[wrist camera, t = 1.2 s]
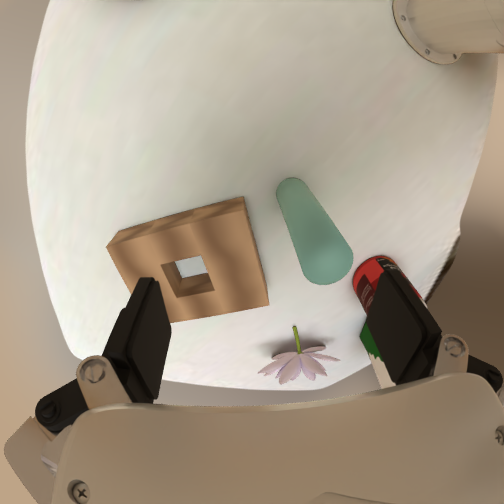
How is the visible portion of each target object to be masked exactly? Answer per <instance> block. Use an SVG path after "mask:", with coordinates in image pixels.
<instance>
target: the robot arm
mask: <svg viewBox="0 0 504 504" xmlns="http://www.w3.org/2000/svg"><path fill="white" fill-rule="evenodd" d="M393 11H394V16H395V20H396V22H397V25H398V27H399V29H400V31H401V33H402V34H403V36H404V37H405V39H406V40H407V42H408V43H409V44H410V45H411V46H412V47H413V48H414V50H415V51H417V52H418V53H419V54H420V55H421V56H423V57H424V58H426V59H427V60H429V61H431V62H434V63H437V64H452V63H454V62H456V61H457V60H458V59H460V57H461V55H462V53H504V0H394V3H393ZM366 323H367V326H368V329H369V331H370V333H371V335H372V337H373V339H374V342H375V344H376V346H377V348H378V351H379V353H380V355H381V357H382V360H383V362H384V364H385V367H386V369H387V372H388V374H389V376H390V379H391V381H392V382H393V383H395V384H396V386H393V387H388V388H384V389H380V390H375V391H371V392H366V393H361V394H355V395H350V396H344V397H338V398H332V399H325V400H318V401H309V402H300V403H291V404H280V405H279V404H278V405H263V406H234V407H233V406H232V407H216V406H213V407H212V406H182V405H165V404H153V400H154V399H157V398H158V395H159V389H160V384H161V379H162V375H163V370H164V365H165V360H166V356H167V351H168V347H169V342H170V338H171V325H170V322H169V318H168V314H167V311H166V307H165V303H164V299H163V296H162V292H161V288H160V284H159V281H155V279H154V278H153V277H140V278H139V280H138V282H137V284H136V286H135V288H134V290H133V293H132V295H131V297H130V299H129V301H128V303H127V306H126V308H123V309H122V310H121V312H120V314H119V316H118V318H117V321H116V323H115V325H114V327H113V330H112V332H111V334H110V337H109V339H108V342H107V344H106V346H105V349H104V351H103V354H102V356H99V355H96V356H90V357H87V358H86V359H84V360H83V361H82V362H81V363H80V364H79V366H78V368H77V371H76V376H77V378H76V379H75V380H73V381H71V382H69V383H68V384H66V385H64V386H62V387H61V388H59V389H57V390H55V391H54V392H52V393H50V394H48V395H46V396H44V397H43V398H42V399H40V401H39V402H38V403H37V406H36V409H35V415H36V416H35V417H34V418H32V417H31V416H30V417H29V418H28V419H27V420H26V422H25V423H24V424H23V425H22V426H21V427H20V428H19V429H18V430H17V431H16V432H15V433H14V434H13V435H12V436H11V437H10V438H9V439H8V440H7V442H6V444H5V447H4V454H5V457H6V459H7V460H8V462H9V464H10V465H11V467H12V469H13V470H14V471H15V473H16V474H17V476H18V477H19V479H20V480H21V481H22V483H23V485H24V486H25V487H26V488H27V490H28V491H29V492H30V494H31V495H32V496H33V498H34V499H35V500H36V502H37V503H38V504H504V384H503V378H502V375H501V373H500V371H499V370H498V369H497V368H496V367H494V366H492V365H490V364H488V363H486V362H483V361H481V360H479V359H477V358H475V357H472V356H470V355H468V353H469V351H468V346H467V344H466V343H465V341H464V340H463V339H461V338H460V337H458V336H457V335H453V334H447V335H445V336H444V337H442V336H441V332H442V331H441V329H440V327H439V326H438V324H437V323H436V321H435V320H434V318H433V317H432V315H431V314H430V312H429V311H428V309H427V308H426V307H425V305H424V304H423V302H422V301H421V299H420V298H419V297H418V295H417V294H416V292H415V291H414V290H413V288H412V287H411V286H410V284H409V283H408V282H407V280H406V279H405V278H404V276H403V275H402V274H401V272H400V271H399V270H398V269H385V270H384V271H383V273H381V274H380V277H379V280H378V284H377V287H376V290H375V294H374V297H373V300H372V303H371V306H370V309H369V312H368V315H367V319H366Z"/></svg>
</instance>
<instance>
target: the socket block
mask: <svg viewBox="0 0 504 504" xmlns="http://www.w3.org/2000/svg"><path fill="white" fill-rule="evenodd" d="M106 248H107V250H108V252H109V254H110V256H111V258H112V260H113V262H114V264H115V266H116V268H117V269H118V271H119V273H120V275H121V277H122V279H123V280H124V282H125V284H126V286H127V288H128V289H129V291H130V293H131V295H132V293H133V290H134V288H135V286H136V284H137V282H138V280H139V278H140V277H153V278H154V279H155V281H159V284H160V288H161V292H162V296H163V299H164V303H165V307H166V311H167V314H168V318H169V322H170V323H174V322H180V321H187V320H193V319H199V318H205V317H210V316H216V315H222V314H227V313H232V312H238V311H243V310H248V309H253V308H258V307H263V306H268V305H269V299H268V292H267V285H266V281H265V277H264V273H263V269H262V265H261V262H260V258H259V254H258V250H257V246H256V243H255V239H254V235H253V231H252V227H251V224H250V220H249V216H248V212H247V209H246V205H245V201H244V197H239V198H235V199H231V200H227V201H223V202H219V203H215V204H211V205H207V206H204V207H200V208H196V209H192V210H189V211H185V212H181V213H178V214H174V215H171V216H167V217H164V218H160V219H157V220H153V221H150V222H147V223H143V224H140V225H137V226H133V227H130V228H127V229H124V230H121V231H118V232H117V234H116V235H115V236H114V237H113V239H112V240H111V241H110V243H109V244H108V245H107V246H106ZM199 255H201V256H202V259H203V261H204V264H205V266H206V269H207V271H208V273H205V274H201V275H196V276H191V277H187V278H181V275H180V273H179V271H178V269H177V266H176V264H175V262H174V261H178V260H182V259H186V258H191V257H195V256H199Z"/></svg>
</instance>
